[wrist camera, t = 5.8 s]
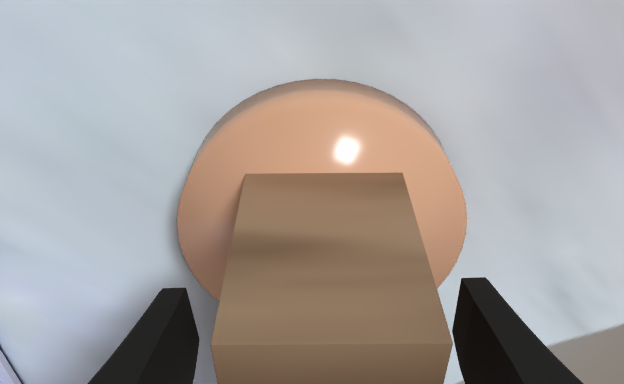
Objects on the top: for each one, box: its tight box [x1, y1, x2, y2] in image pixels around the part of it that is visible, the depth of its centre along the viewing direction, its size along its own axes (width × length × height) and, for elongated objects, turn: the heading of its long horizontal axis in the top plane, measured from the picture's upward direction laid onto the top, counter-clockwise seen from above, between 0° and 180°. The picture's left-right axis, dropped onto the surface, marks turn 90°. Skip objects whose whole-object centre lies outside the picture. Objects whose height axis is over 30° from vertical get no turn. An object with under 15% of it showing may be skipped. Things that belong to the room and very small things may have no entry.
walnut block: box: [211, 173, 453, 384], centre depth 13 cm, size 4×4×6 cm
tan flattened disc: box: [177, 79, 467, 301], centre depth 16 cm, size 9×9×2 cm
